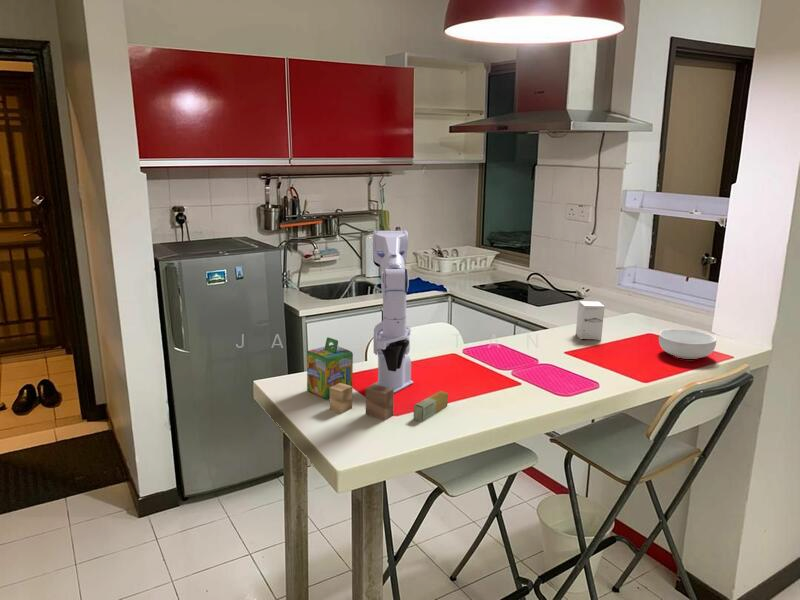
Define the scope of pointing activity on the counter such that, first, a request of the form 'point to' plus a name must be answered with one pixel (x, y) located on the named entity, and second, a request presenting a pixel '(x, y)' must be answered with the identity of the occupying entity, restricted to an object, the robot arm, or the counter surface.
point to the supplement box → (590, 320)
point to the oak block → (340, 398)
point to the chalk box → (328, 368)
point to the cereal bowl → (687, 343)
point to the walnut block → (379, 401)
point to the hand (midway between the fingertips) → (394, 369)
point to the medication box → (430, 406)
